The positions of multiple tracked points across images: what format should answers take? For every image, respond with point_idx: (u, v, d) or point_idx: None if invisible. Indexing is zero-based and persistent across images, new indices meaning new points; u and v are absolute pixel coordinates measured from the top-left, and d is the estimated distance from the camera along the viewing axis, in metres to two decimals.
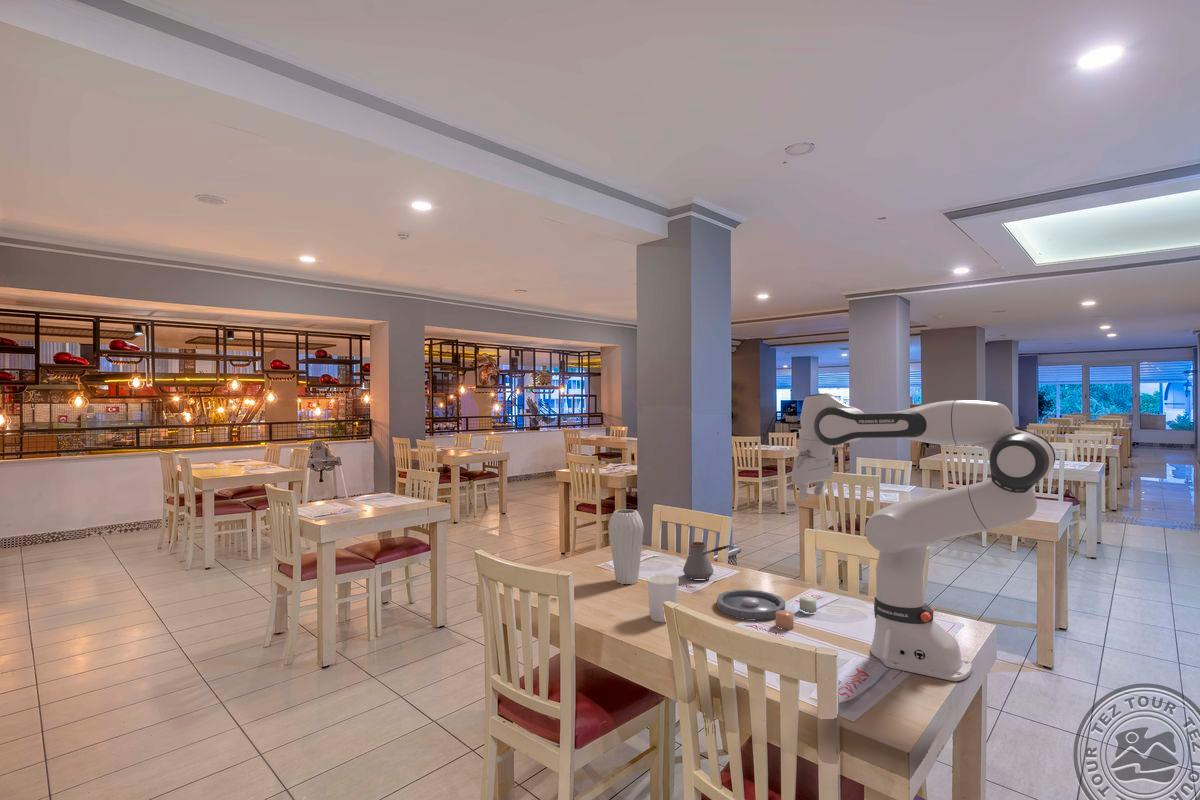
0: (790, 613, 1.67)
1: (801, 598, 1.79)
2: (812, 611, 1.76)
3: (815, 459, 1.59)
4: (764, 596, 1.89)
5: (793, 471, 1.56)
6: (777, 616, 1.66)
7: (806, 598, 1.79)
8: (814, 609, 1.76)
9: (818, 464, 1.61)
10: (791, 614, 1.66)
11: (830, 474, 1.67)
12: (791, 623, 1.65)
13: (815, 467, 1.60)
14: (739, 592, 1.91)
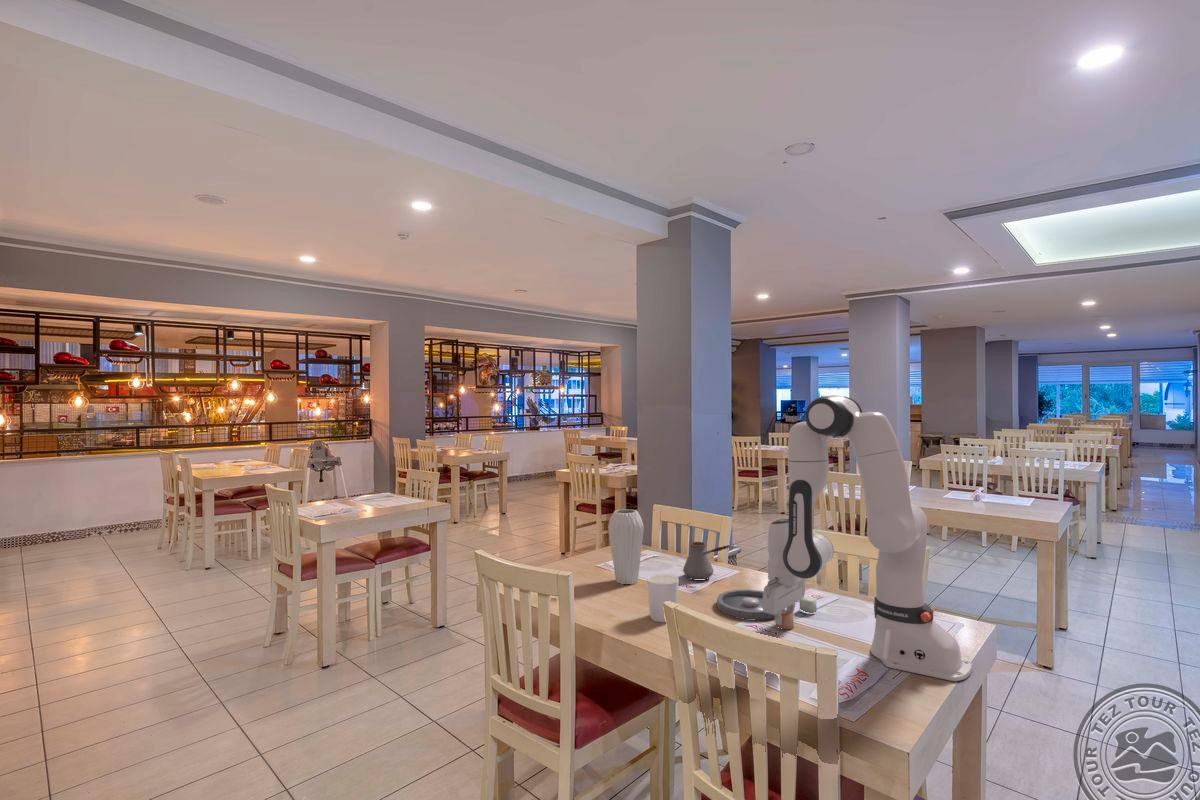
0: (790, 613, 1.67)
1: None
2: (812, 611, 1.76)
3: (784, 586, 1.64)
4: None
5: (763, 601, 1.61)
6: None
7: (806, 598, 1.79)
8: (814, 609, 1.76)
9: (788, 589, 1.66)
10: (791, 614, 1.66)
11: (802, 594, 1.72)
12: (791, 623, 1.65)
13: (785, 593, 1.65)
14: (739, 592, 1.91)
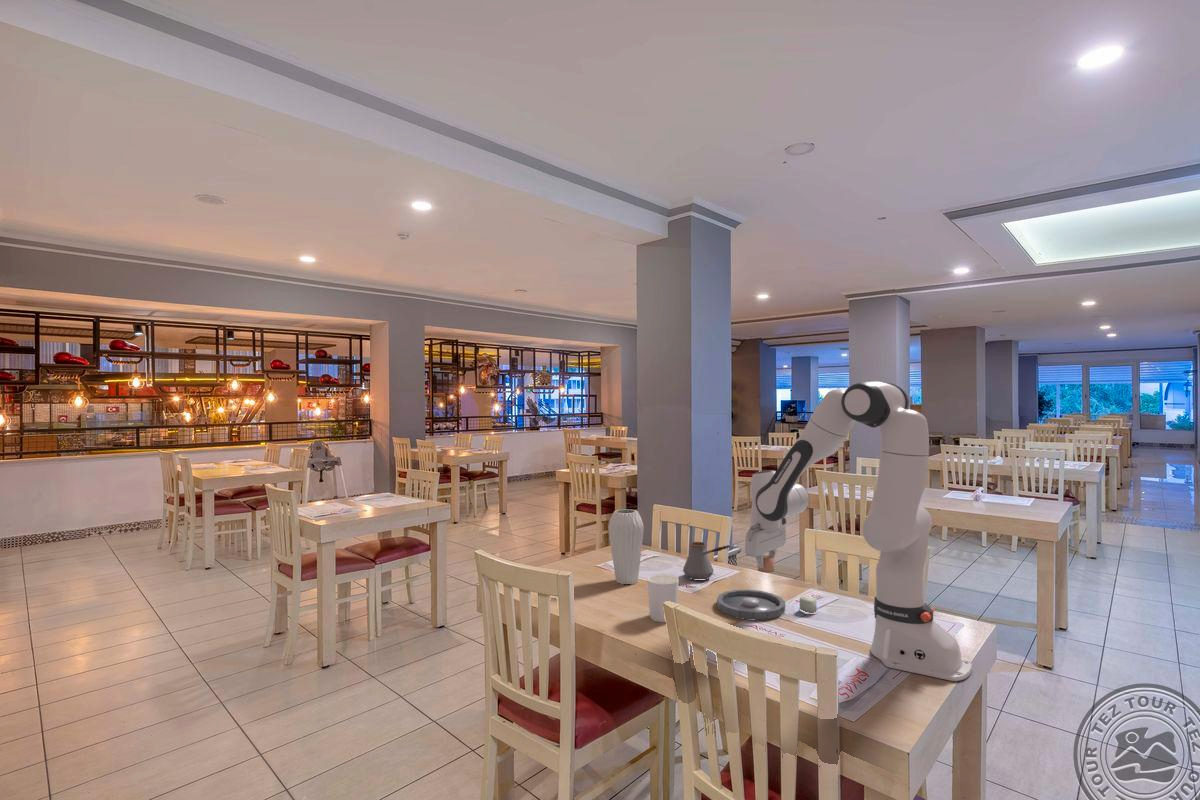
0: (771, 557, 1.78)
1: (801, 598, 1.79)
2: (812, 611, 1.76)
3: (765, 531, 1.75)
4: (764, 596, 1.89)
5: (746, 544, 1.72)
6: None
7: (806, 598, 1.79)
8: (814, 609, 1.76)
9: (769, 535, 1.77)
10: (772, 558, 1.78)
11: (783, 542, 1.83)
12: (772, 566, 1.76)
13: (766, 538, 1.76)
14: (739, 592, 1.91)
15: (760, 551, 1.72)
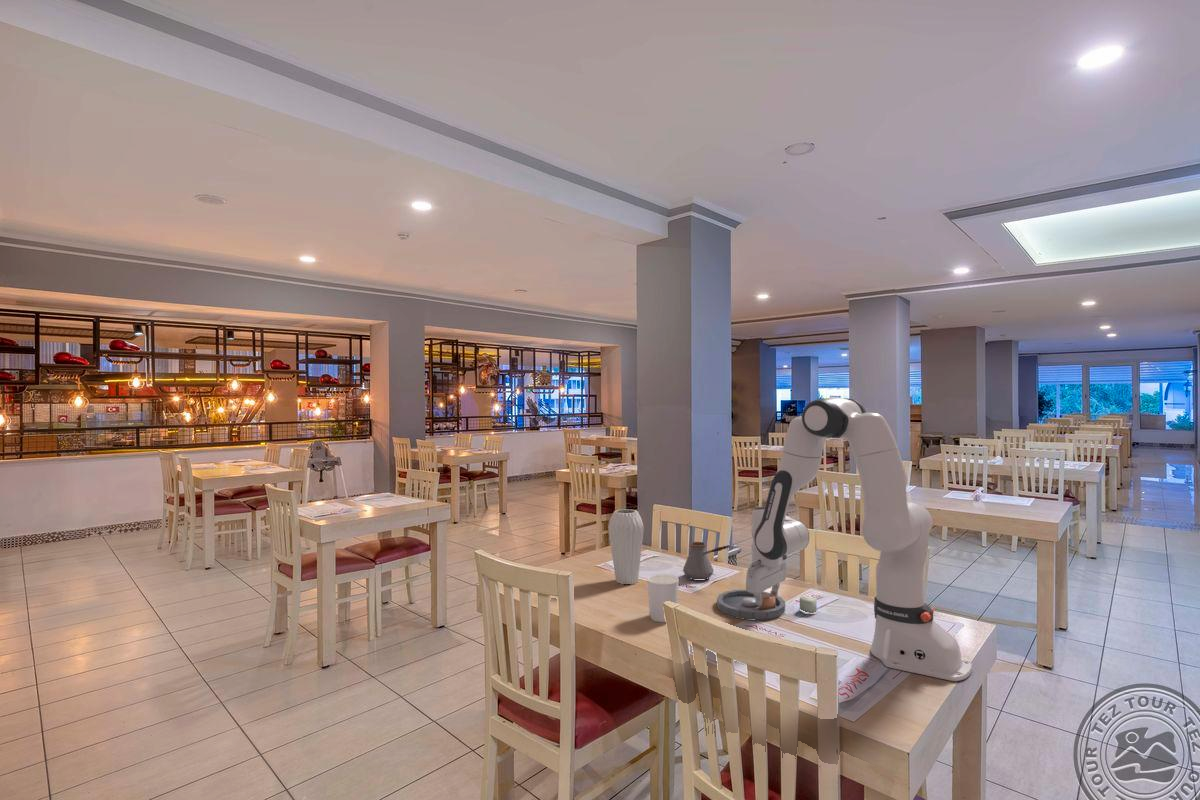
0: (772, 596, 1.78)
1: (801, 598, 1.79)
2: (813, 611, 1.76)
3: (766, 567, 1.75)
4: None
5: (747, 581, 1.72)
6: None
7: (806, 598, 1.79)
8: (814, 609, 1.76)
9: (770, 571, 1.77)
10: (773, 597, 1.77)
11: (784, 576, 1.83)
12: (773, 605, 1.76)
13: (767, 574, 1.76)
14: (739, 592, 1.91)
15: (761, 588, 1.72)
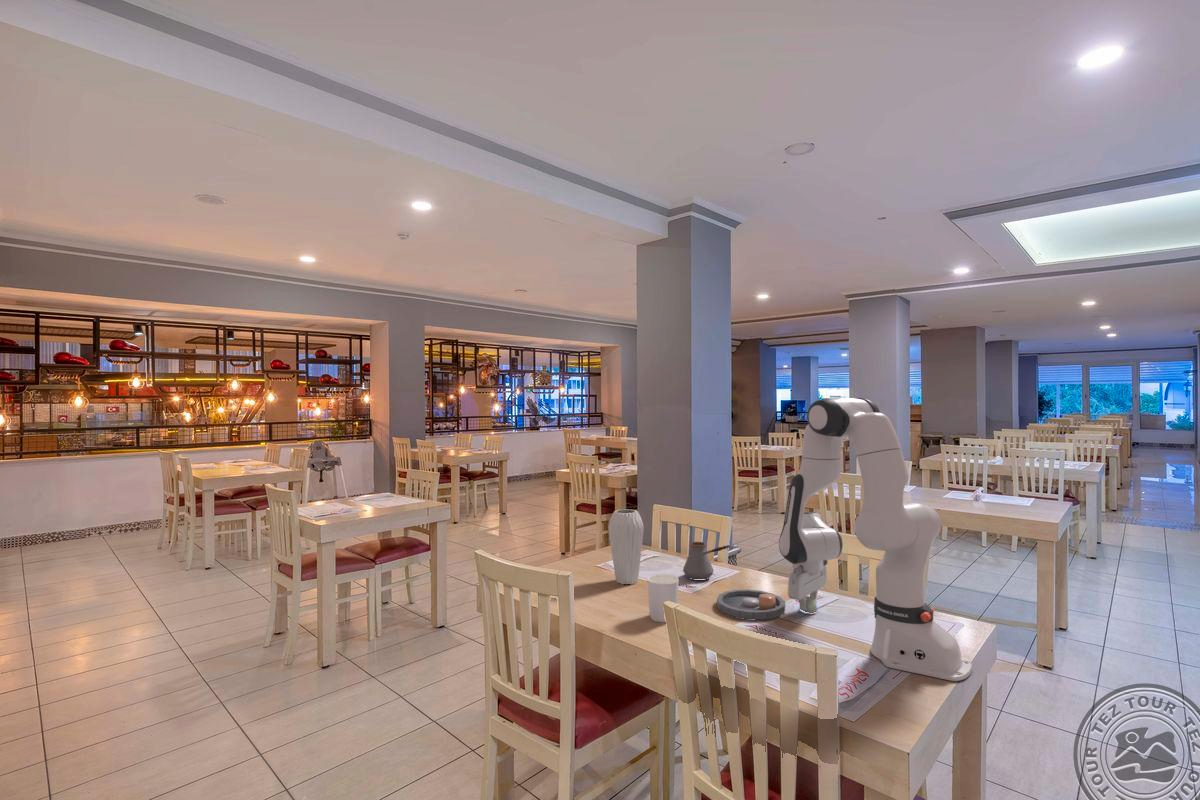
0: (772, 596, 1.78)
1: None
2: (813, 611, 1.76)
3: (808, 573, 1.75)
4: None
5: (789, 587, 1.72)
6: (760, 599, 1.78)
7: (806, 598, 1.79)
8: (815, 608, 1.76)
9: (811, 576, 1.77)
10: (773, 597, 1.77)
11: (824, 582, 1.83)
12: (773, 605, 1.76)
13: (809, 580, 1.76)
14: (739, 592, 1.91)
15: (803, 594, 1.72)
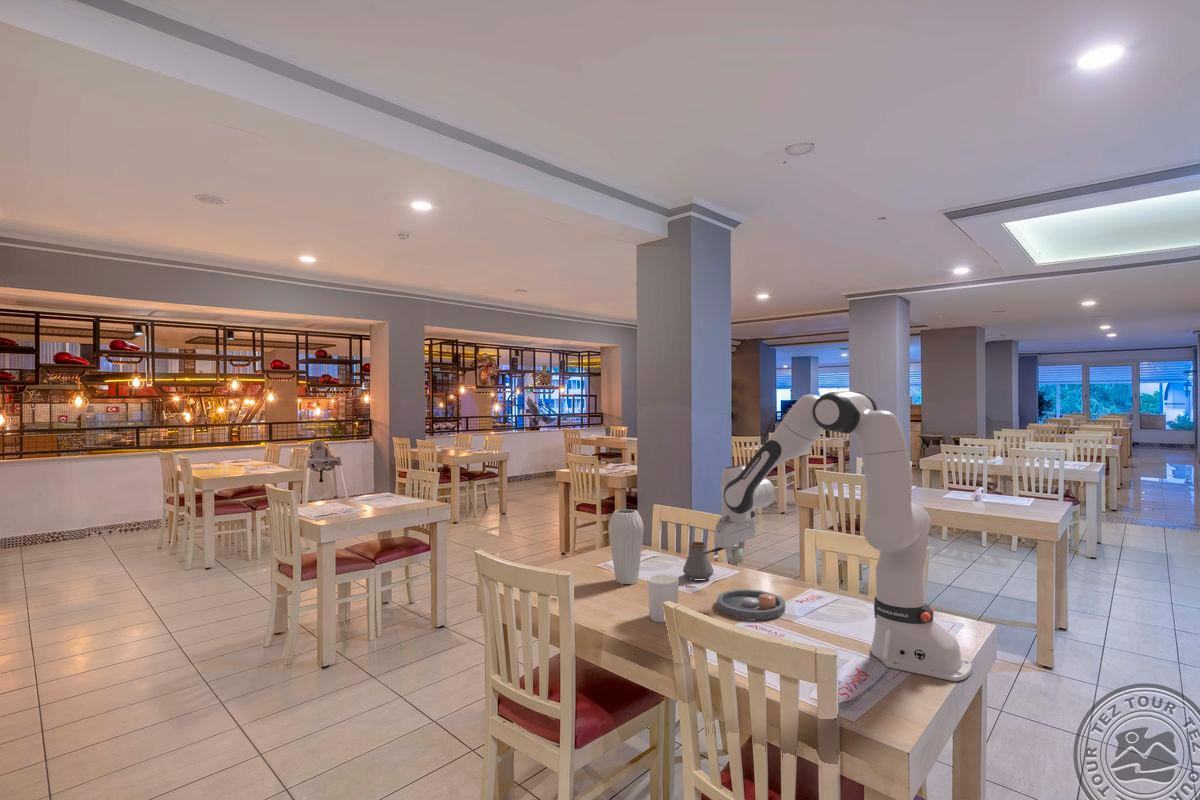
0: (772, 596, 1.78)
1: None
2: (739, 559, 1.84)
3: (734, 523, 1.83)
4: None
5: (715, 536, 1.80)
6: (760, 599, 1.78)
7: (733, 548, 1.87)
8: (741, 557, 1.85)
9: (738, 527, 1.85)
10: (773, 597, 1.77)
11: (752, 534, 1.91)
12: (773, 605, 1.76)
13: (735, 530, 1.84)
14: (739, 592, 1.91)
15: (728, 542, 1.81)
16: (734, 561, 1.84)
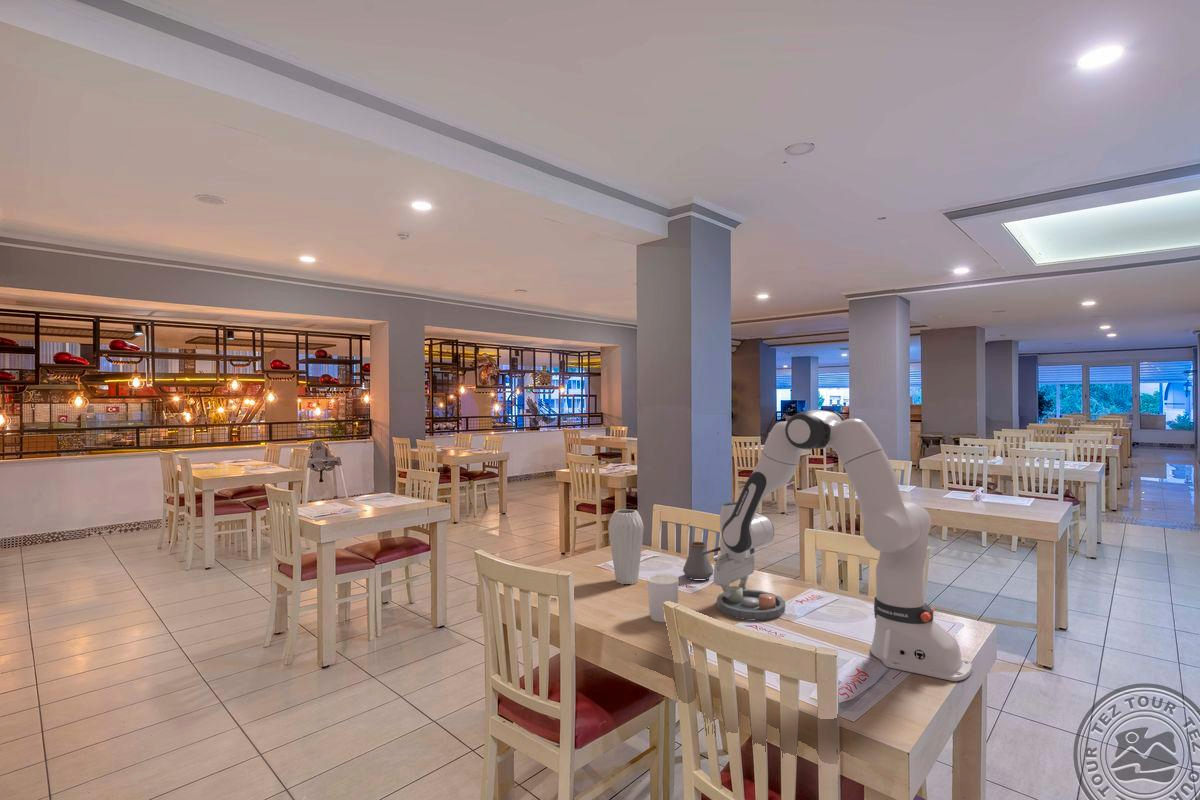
0: (772, 596, 1.78)
1: (728, 588, 1.87)
2: (739, 600, 1.84)
3: (734, 561, 1.83)
4: None
5: (714, 574, 1.80)
6: (760, 599, 1.78)
7: (733, 587, 1.87)
8: (741, 597, 1.85)
9: (738, 564, 1.85)
10: (773, 597, 1.77)
11: (752, 570, 1.91)
12: (773, 605, 1.76)
13: (735, 567, 1.84)
14: None
15: (728, 580, 1.80)
16: (734, 601, 1.84)
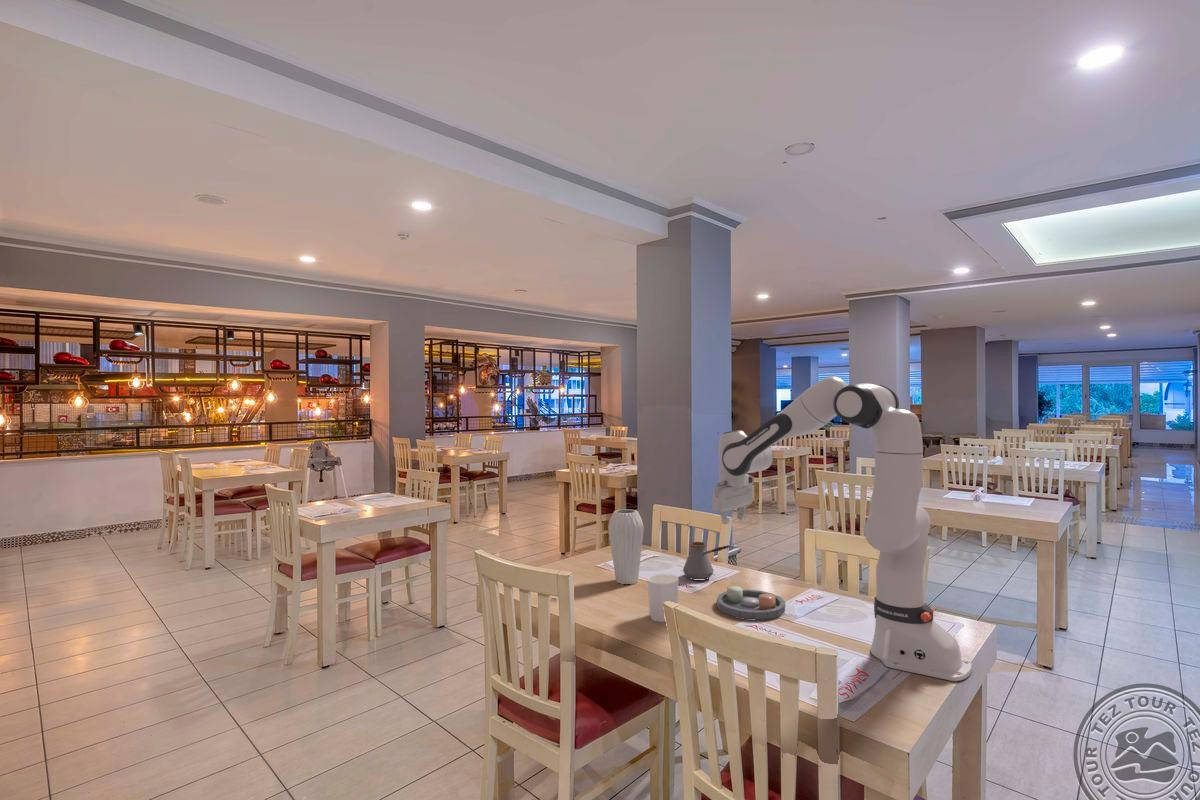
0: (772, 596, 1.78)
1: (728, 588, 1.87)
2: (739, 600, 1.84)
3: (732, 488, 1.83)
4: None
5: (713, 500, 1.80)
6: (760, 599, 1.78)
7: (733, 587, 1.87)
8: (741, 597, 1.85)
9: (736, 492, 1.86)
10: (773, 597, 1.77)
11: (750, 500, 1.91)
12: (773, 605, 1.76)
13: (733, 495, 1.84)
14: None
15: (726, 506, 1.81)
16: (734, 601, 1.84)
